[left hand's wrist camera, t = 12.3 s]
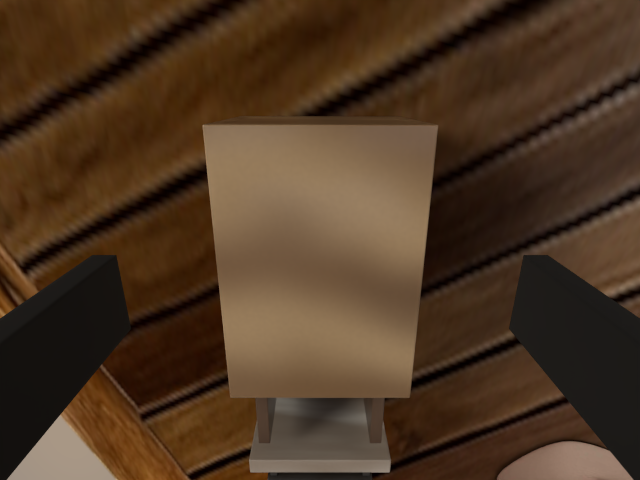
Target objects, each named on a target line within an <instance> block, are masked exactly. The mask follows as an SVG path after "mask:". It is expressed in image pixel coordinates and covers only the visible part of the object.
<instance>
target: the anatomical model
mask: <svg viewBox="0 0 640 480" xmlns="http://www.w3.org/2000/svg"><path fill="white" fill-rule="evenodd" d="M497 480H633V479H632V477H631V476H630V475H629V474H628V472H627V471H626V470H625V469H624V468H623V466H622V465H621V464H620V463H619V462H618V460H617V459H616V458H615V457H614V455H613V454H612V453H611V452H610V451H609V450H606V449H603V448H600V447H597V446H594V445H591V444H587V443H582V442H575V441H564V442H557V443H553V444H549V445H546V446H544V447H541V448H539V449H537V450H534V451H532V452H530V453H528V454H526V455H524V456H523V457H521V458H519V459H517V460H516V461H514V462H513V463H511V464H510V465H508V466H507V467H505V468H504V469H503V470H502V471H501V472H500V473H499V475H498V477H497Z"/></svg>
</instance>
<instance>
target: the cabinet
mask: <svg viewBox="0 0 640 480" xmlns="http://www.w3.org/2000/svg"><path fill="white" fill-rule="evenodd" d="M437 133H438V125H436V124H431V123H427V122H423V121H418V120H414V119H409V118H405V117H400V116H240V117H235V118H231V119H227V120H222V121H218V122H213V123H209V124H204V125H203V135H204V145H205V154H206V164H207V174H208V184H209V193H210V203H211V213H212V223H213V233H214V242H215V252H216V262H217V272H218V281H219V291H220V301H221V311H222V320H223V330H224V340H225V350H226V359H227V369H228V379H229V389H230V397H231V398H410V391H411V382H412V372H413V362H414V353H415V343H416V334H417V324H418V315H419V305H420V296H421V286H422V276H423V267H424V257H425V248H426V238H427V229H428V219H429V209H430V200H431V190H432V181H433V171H434V162H435V152H436V142H437Z"/></svg>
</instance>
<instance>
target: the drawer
mask: <svg viewBox="0 0 640 480" xmlns="http://www.w3.org/2000/svg"><path fill="white" fill-rule="evenodd" d="M384 401H385V398H256V412H257V423H256V428H255V433H254V438H253V444H252V449H251V454H250V459H249V463H250V472H268V480H372V472H390V464H391V459H390V453H389V448H388V443H387V438H386V433H385V428H384V423H383V414H384Z"/></svg>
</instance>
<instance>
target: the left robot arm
mask: <svg viewBox="0 0 640 480" xmlns="http://www.w3.org/2000/svg"><path fill="white" fill-rule="evenodd" d="M130 329H131V326H130V322H129V317H128V312H127V307H126V302H125V297H124V292H123V287H122V282H121V277H120V272H119V267H118V262H117V257H116V255H92V256H91V257H89V258H88V259H86V260H85V261H83V262H82V263H80V264H79V265H77V266H76V267H75V268H73V269H72V270H70V271H69V272H67V273H66V274H64V275H63V276H61V277H60V278H59V279H57V280H56V281H54V282H53V283H51V284H50V285H48V286H47V287H45V288H44V289H43V290H41V291H40V292H38V293H37V294H35V295H34V296H32V297H31V298H29V299H28V300H26V301H25V302H24V303H22V304H21V305H19V306H18V307H16V308H15V309H13V310H12V311H10V312H9V313H8V314H6V315H5V316H3V317H2V318H0V480H7V479H8V477H9V476H10V475H11V474H12V472H13V471H14V470H15V469H16V468H17V466H18V465H19V464H20V463H21V462H22V460H23V459H24V458H25V457H26V455H27V454H28V453H29V452H30V451H31V449H32V448H33V447H34V446H35V445H36V443H37V442H38V441H39V440H40V438H41V437H42V436H43V435H44V434H45V432H46V431H47V430H48V429H49V427H50V426H51V425H52V424H53V423H54V421H55V420H56V419H57V418H58V417H59V415H60V414H61V413H62V412H63V411H64V409H65V408H66V407H67V406H68V404H69V403H70V402H71V401H72V400H73V398H74V397H75V396H76V395H77V394H78V392H79V391H80V390H81V389H82V387H83V386H84V385H85V384H86V383H87V381H88V380H89V379H90V378H91V377H92V375H93V374H94V373H95V372H96V370H97V369H98V368H99V367H100V366H101V364H102V363H103V362H104V361H105V360H106V358H107V357H108V356H109V355H110V353H111V352H112V351H113V350H114V349H115V347H116V346H117V345H118V344H119V343H120V341H121V340H122V339H123V338H124V336H125V335H126V334H127V333H128V332H129V330H130ZM509 329H510V330H511V332H512V333H513V334H514V335H515V336H516V338H517V339H518V340H519V341H520V343H521V344H522V345H523V346H524V347H525V349H526V350H527V351H528V352H529V353H530V355H531V356H532V357H533V358H534V360H535V361H536V362H537V363H538V364H539V366H540V367H541V368H542V369H543V370H544V372H545V373H546V374H547V375H548V377H549V378H550V379H551V380H552V381H553V383H554V384H555V385H556V386H557V387H558V389H559V390H560V391H561V392H562V394H563V395H564V396H565V397H566V398H567V400H568V401H569V402H570V403H571V404H572V406H573V407H574V408H575V409H576V411H577V412H578V413H579V414H580V415H581V417H582V418H583V419H584V420H585V421H586V423H587V424H588V425H589V426H590V428H591V429H592V430H593V431H594V432H595V434H596V435H597V436H598V437H599V438H600V440H601V441H602V442H603V443H604V445H605V446H606V447H607V448H608V449H609V451H610V452H611V453H612V454H613V455H614V457H615V458H616V459H617V460H618V462H619V463H620V464H621V465H622V466H623V468H624V469H625V470H626V471H627V472H628V474H629V475H630V476H631V477H632V479H633V480H640V318H638V317H637V316H635V315H634V314H632V313H631V312H630V311H628V310H627V309H625V308H624V307H622V306H621V305H619V304H618V303H616V302H615V301H614V300H612V299H611V298H609V297H608V296H606V295H605V294H603V293H602V292H600V291H599V290H597V289H596V288H595V287H593V286H592V285H590V284H589V283H587V282H586V281H584V280H583V279H581V278H580V277H579V276H577V275H576V274H574V273H573V272H571V271H570V270H568V269H567V268H565V267H564V266H563V265H561V264H560V263H558V262H557V261H555V260H554V259H552V258H551V257H549V256H548V255H524V257H523V262H522V267H521V272H520V277H519V282H518V287H517V292H516V297H515V302H514V307H513V312H512V317H511V322H510V326H509Z"/></svg>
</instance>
